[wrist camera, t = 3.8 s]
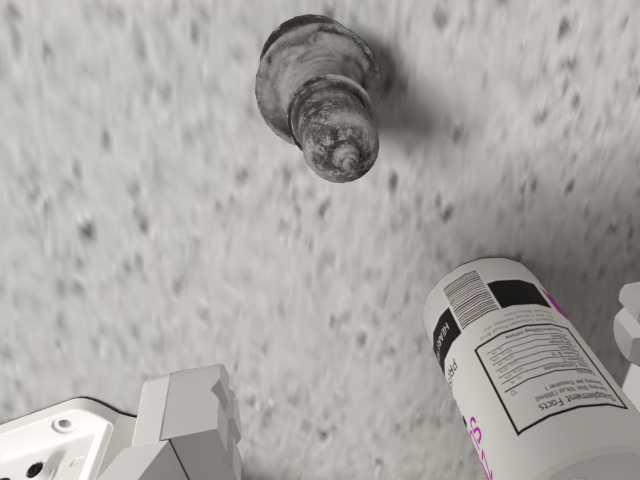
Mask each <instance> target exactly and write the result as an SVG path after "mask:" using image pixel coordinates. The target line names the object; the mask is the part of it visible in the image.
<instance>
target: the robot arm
mask: <svg viewBox="0 0 640 480" xmlns="http://www.w3.org/2000/svg"><path fill="white" fill-rule="evenodd" d="M618 300H619V301H620V303H621V304H622V305H623V306H624V307H623V308H622V309H621V310H620V312H619V313H618V314H617V315H616V316H615V319H614V326H613V331H614V336H615V341H616V343H617V345H618V347H619V349H620V351H621V353H622V354H623V355H624V356H625V358H626V359H627V360H628V361H629V362H631V363H633V364H635V365H638V366H640V281H639V282H634V283H629V284H625V285H624V286H623V287H622V289H621V290H620V294H619V299H618ZM240 439H241V421H240V412H239V407H238V403H237V399H236V396H235V393H234V391H232V390H230V389H229V376H228V373H227V371H226V368H225V366H224V365H223V364H218V365H212V366H207V367H201V368H195V369H189V370H183V371H177V372H173V373H169V374H163V375H157V376H151V377H148V378H147V380H146V381H145V383H144V385H143V390H142V395H141V400H140V405H139V410H138V415H137V418H134V417H130V416H125V415H122V414H119V413H117V412H115V411H113V410H111V409H110V408H108V407H106V406H104V405H102V404H100V403H98V402H95V401H93V400H89V399H85V398H76V399H71V400H68V401H66V402H63V403H60V404H57V405H55V406H52V407H49V408H46V409H43V410H41V411H38V412H35V413H32V414H29V415H27V416H24V417H21V418H18V419H15V420H13V421H10V422H7V423H4V424H1V425H0V480H241V456H240V453H239V450H238V448H237V444H238V442H239V441H240Z"/></svg>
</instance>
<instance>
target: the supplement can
mask: <svg viewBox="0 0 640 480" xmlns="http://www.w3.org/2000/svg"><path fill="white" fill-rule="evenodd" d="M423 326H424V328H425V331H426V333H427V335H428V338H429V340H430V342H431V345H432V347H433V349H434V352H435V354H436V357H437V359H438V361H439V364H440V366H441V368H442V371H443V373H444V376H445V378H446V380H447V383H448V385H449V387H450V390H451V392H452V394H453V397H454V399H455V402H456V404H457V406H458V409H459V411H460V413H461V416H462V418H463V421H464V423H465V425H466V428H467V430H468V432H469V435H470V437H471V439H472V442H473V444H474V447H475V449H476V451H477V454H478V456H479V458H480V461H481V463H482V466H483V468H484V470H485V473H486V475H487V477H488V480H640V413H639V412H638V410H637V409H636V408H635V407H634V405H633V404H632V403H631V401H630V400H629V399H628V397H627V396H626V395H625V394H624V392H623V391H622V389H621V388H620V387H619V386H618V384H617V383H616V382H615V380H614V379H613V378H612V376H611V375H610V374H609V372H608V371H607V370H606V369H605V367H604V366H603V365H602V363H601V362H600V361H599V359H598V358H597V357H596V355H595V354H594V353H593V352H592V350H591V349H590V348H589V346H588V345H587V344H586V342H585V341H584V340H583V338H582V337H581V336H580V334H579V333H578V332H577V331H576V329H575V328H574V327H573V325H572V324H571V323H570V321H569V320H568V319H567V317H566V316H565V315H564V314H563V312H562V311H561V310H560V308H559V307H558V306H557V304H556V303H555V302H554V300H553V299H552V298H551V297H550V295H549V294H548V293H547V291H546V290H545V289H544V287H543V286H542V285H541V283H540V282H539V281H538V279H537V278H536V277H535V276H534V274H533V273H532V272H531V271H529V270H528V269H527V268H526V267H525V266H524V265H522V264H521V263H519V262H515V261H512V260H509V259H505V258H485V259H480V260H476V261H473V262H470V263H467V264H464V265H461V266H459V267H458V268H456V269H454V270H453V271H451V272H450V273H448V274H447V275H445V276H444V277H443V278H442V279H441V280H440V281H439V282H438V284H437V285H436V286H435V287H434V288H433V289H432V291H431V292H430V293H429V295H428V297H427V300H426V303H425V305H424V308H423Z"/></svg>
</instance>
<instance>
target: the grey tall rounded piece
mask: <svg viewBox="0 0 640 480" xmlns="http://www.w3.org/2000/svg"><path fill="white" fill-rule="evenodd" d="M380 91H381V77H380V69H379V66H378V64H377V61H376V58H375V55H374V54H373V52H372V51H371V50H370V48H369V47H368V45H367V44H366V43H365V41H364V40H363V39H361V38H360V37H359V36H357V35H356V34H355V33H354V32H352V31H351V30H349V29H346V28H345V27H343V26H342V25H341V24H339V23H338V22H337V21H335V20H333V19H330V18H328V17H325V16H321V15H311V14H308V15H303V16H297V17H294V18H292V19H290V20H288V21H286V22H284V23H282V24H281V25H280V26H279V27H278V28H277V29H276V30H274V31H273V32H272V34H271V35H270V37H269V38H268V40H267V41H266V43H265V44H264V47H263V50H262V53H261V56H260V66H259V69H258V72H257V75H256V88H255V94H256V99H257V103H258V108H259V111H260V113H261V115H262V116H263V118H264V120H265V122H266V124H267V125H268V126H269V127H270V128H271V129H272V130H273V131H274V133H275V134H276V135H278V136H279V137H281V138H282V139H284V140H285V141H287V142H289V143H291V144H294V145H297V146H298V148H299V149H300V150H301V151H303V153H304V157H305V159H306V161H307V163H308V165H309V166H310V168H311V169H312V170H313V171H314V172H315V173H316V174H317V175H318V176H320V177H321V178H323V179H325V180H328V181H331V182H335V183H345V182H351V181H354V180H356V179H358V178H361V177H362V176H363V175H364V174H366V173H367V172H368V171H369V170H370V169H371V167H372V166H373V165H374V163H375V161H376V159H377V157H378V151H379V137H378V132H377V130H376V127H375V125H374V123H373V120H374V111H375V109H376V107H377V105H378V103H379V97H380Z"/></svg>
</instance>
